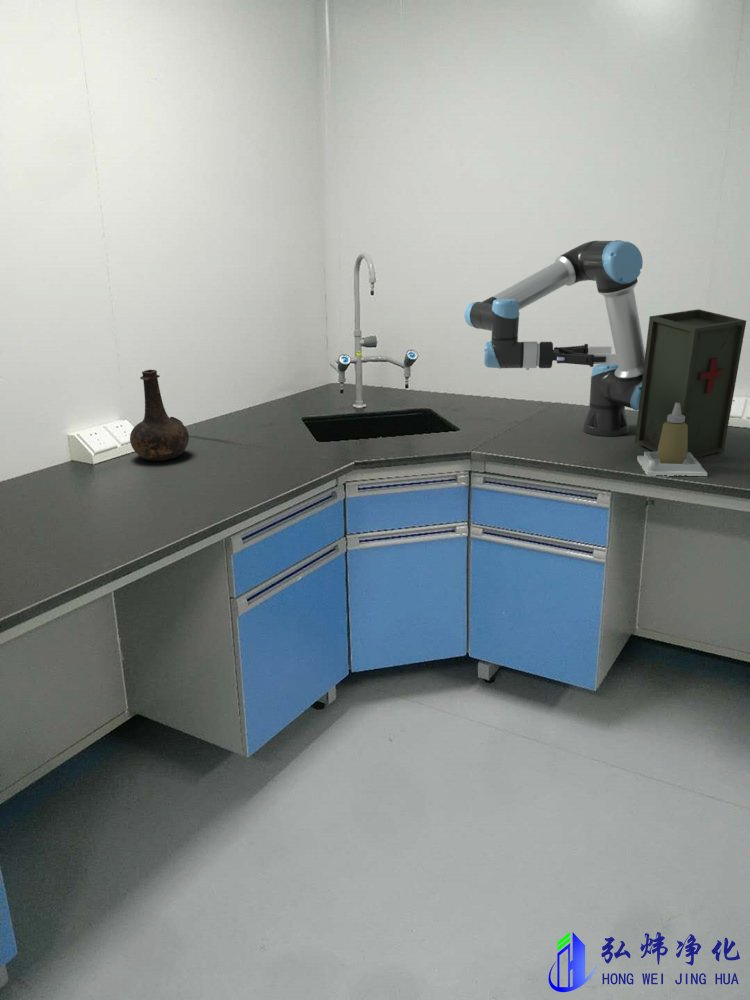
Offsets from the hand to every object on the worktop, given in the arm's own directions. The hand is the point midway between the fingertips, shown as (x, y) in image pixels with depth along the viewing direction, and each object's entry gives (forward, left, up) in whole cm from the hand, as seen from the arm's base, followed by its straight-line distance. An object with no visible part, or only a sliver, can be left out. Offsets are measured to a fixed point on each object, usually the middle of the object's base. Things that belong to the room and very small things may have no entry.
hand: (614, 355), depth 214 cm
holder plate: (+4, +18, -32) cm, 37 cm away
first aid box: (-16, +24, -31) cm, 43 cm away
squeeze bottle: (+4, +18, -31) cm, 36 cm away
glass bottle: (+4, -138, -32) cm, 142 cm away
